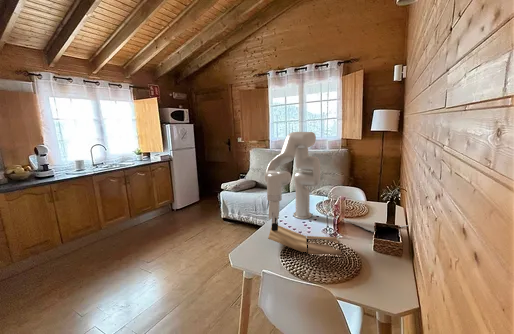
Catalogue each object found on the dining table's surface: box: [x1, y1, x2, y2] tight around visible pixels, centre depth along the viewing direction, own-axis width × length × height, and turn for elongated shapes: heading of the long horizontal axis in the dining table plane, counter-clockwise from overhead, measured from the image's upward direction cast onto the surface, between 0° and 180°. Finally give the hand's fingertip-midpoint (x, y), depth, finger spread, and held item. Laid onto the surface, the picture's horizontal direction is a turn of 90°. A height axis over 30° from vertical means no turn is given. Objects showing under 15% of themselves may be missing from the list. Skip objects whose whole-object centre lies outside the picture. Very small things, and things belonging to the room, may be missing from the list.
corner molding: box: [343, 218, 410, 233], centre depth 156 cm, size 30×2×30 cm
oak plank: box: [267, 225, 308, 253], centre depth 127 cm, size 16×20×2 cm
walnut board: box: [306, 235, 342, 255], centre depth 124 cm, size 18×16×2 cm
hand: (274, 229), depth 127 cm, fingers closed
